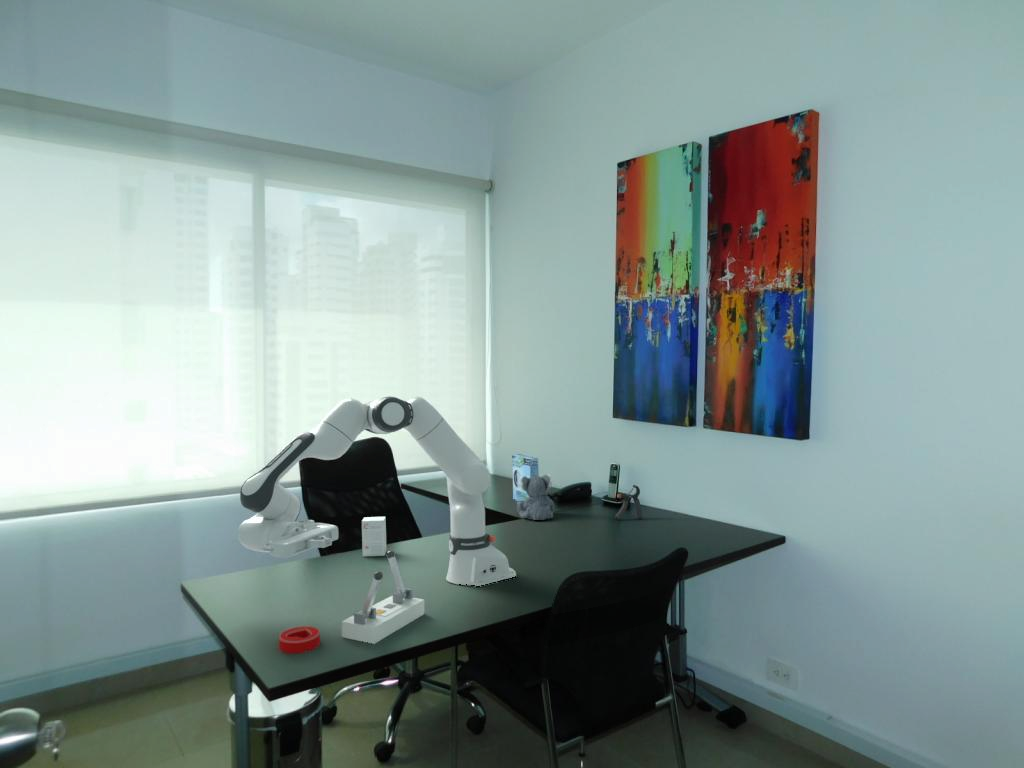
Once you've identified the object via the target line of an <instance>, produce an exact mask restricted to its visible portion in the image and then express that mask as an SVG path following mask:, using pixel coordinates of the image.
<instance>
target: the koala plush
mask: <svg viewBox="0 0 1024 768" xmlns="http://www.w3.org/2000/svg"><path fill="white" fill-rule="evenodd" d="M519 481H520V487H521V488H522V489H523V491H526V492H527V495H528V496H529V497H527V498H526V499H525V501H523V500H519V501H516V508H517V509H516V511H517V513H518V515H519V517H521V519H525V518H531V519H530V520H532V519H533V520H532V521H534V520H543V521H545V520H547V519H548V520H551V519H553V518H554V513H555V507H556V505H555V502H554V501H553V500H552V499H551V497H550V496H548V495H547V494H546V492H547V491H549V490H550V489H551V488H552V485H553V477H552V476H551V474H549V473H547V474H544V475H542V476H532V477H530V478H527V477H525V476H524V477H523V476H522V477H520V478H519ZM550 518H551V519H550Z"/></svg>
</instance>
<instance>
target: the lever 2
mask: <svg viewBox="0 0 1024 768" xmlns="http://www.w3.org/2000/svg"><path fill="white" fill-rule="evenodd" d="M395 554H396V553H395V552H394V551H393V550H389V551H386V557H387V560H388V563H389V566H390V571H391V573H392V577H393V580H394V583H395V587H396V591H397V593H400V594H403V599H404V598H406V597H408V596H409V592H408V591H407V590H405V588H406V587H405V585H404V582H403V580H402V576H401V572H400V568H399V566H398V562H397V559H396V556H395Z"/></svg>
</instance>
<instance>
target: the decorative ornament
mask: <svg viewBox="0 0 1024 768" xmlns="http://www.w3.org/2000/svg"><path fill="white" fill-rule="evenodd" d="M319 644H320V645H321V631H320V630H319V628H316V627H314V626H296V627H292V628H289V629H285V630H283V632H281V633H280V634H279V636H278V649H279V651H280V652H281V651H282V652H281V653H284V652H285V653H284V654H290V653H297V654H302V653H301V652H304V653H306V652H305V651H308V652H310V651H309V650H311V651H313V650H315V649H317V648H318V647H319V646H320V645H319ZM316 647H317V648H316ZM314 648H315V649H314ZM312 649H313V650H312Z"/></svg>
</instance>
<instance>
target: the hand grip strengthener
mask: <svg viewBox="0 0 1024 768" xmlns="http://www.w3.org/2000/svg"><path fill="white" fill-rule="evenodd" d="M634 489H635V490H636V491H635V493H634V494H631V493H632V492H633V491H634ZM640 489H641V488H640V487H639V486H638V485H635V484H633V485H632V487H631V488H630V489H629V491H628V492H627V493H626V494H622V493H617V495H616V497H617V498H618V499H622V500H623V502H622V505H621V507H620V509H619V510H618V512H617V513H616V514H615V516H614V518H615V519H616V520H619V519H620V518H621V517H622V516H623V515H624V514H625V512H626V509H627V508H628V505H629V501H630V499H633V503H634V507H635V511H636V516H637V517H636V518H637V520H642V519H643V509H642V505H641V502H640V499H639V498H638V497H639V495H640V493H641V490H640Z"/></svg>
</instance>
